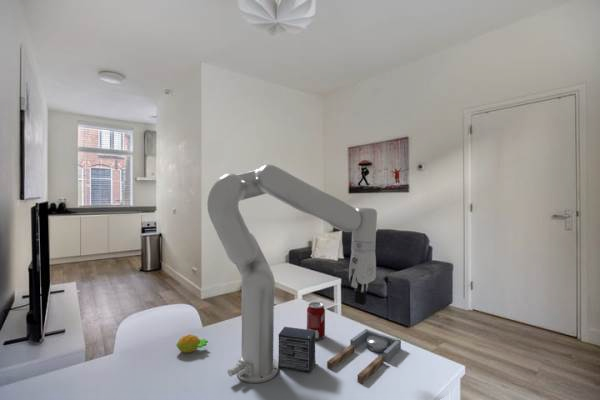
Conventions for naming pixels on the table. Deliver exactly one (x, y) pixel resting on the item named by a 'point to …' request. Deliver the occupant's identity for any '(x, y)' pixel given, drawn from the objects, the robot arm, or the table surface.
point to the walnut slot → (364, 373)
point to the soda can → (316, 319)
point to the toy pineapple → (190, 343)
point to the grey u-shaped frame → (393, 343)
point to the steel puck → (377, 344)
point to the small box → (297, 349)
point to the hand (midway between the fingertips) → (360, 303)
